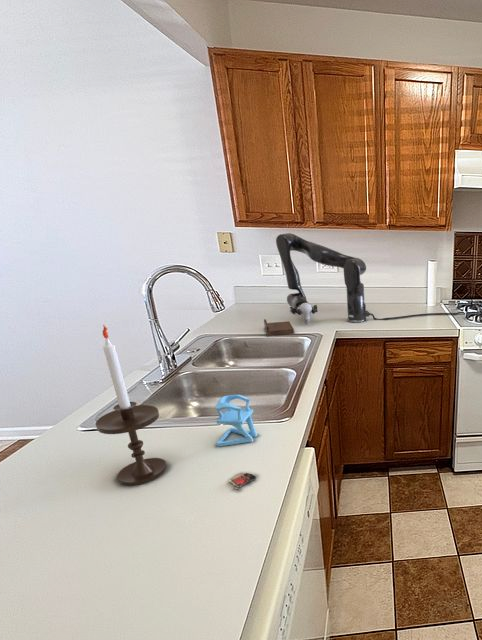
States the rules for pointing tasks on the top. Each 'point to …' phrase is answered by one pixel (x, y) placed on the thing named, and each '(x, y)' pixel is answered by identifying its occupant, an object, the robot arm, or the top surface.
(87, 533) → the top surface
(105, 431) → the candlestick
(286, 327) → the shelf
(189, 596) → the top surface
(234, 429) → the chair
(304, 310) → the lightbulb
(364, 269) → the robot arm
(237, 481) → the matchbox
